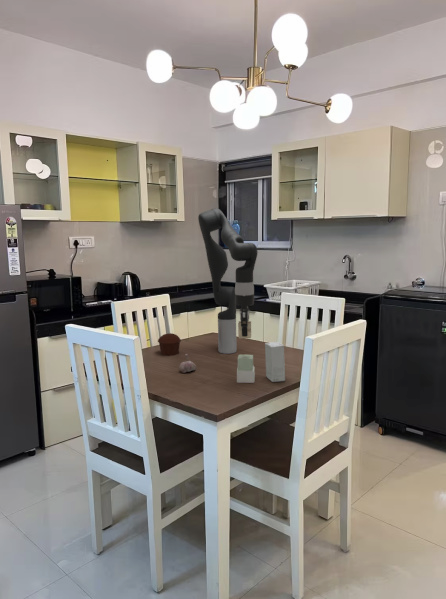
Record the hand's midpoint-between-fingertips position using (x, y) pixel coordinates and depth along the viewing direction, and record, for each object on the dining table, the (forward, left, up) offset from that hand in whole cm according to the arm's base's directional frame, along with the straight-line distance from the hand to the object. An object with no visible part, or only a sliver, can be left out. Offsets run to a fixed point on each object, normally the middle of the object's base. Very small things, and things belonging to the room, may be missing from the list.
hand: (244, 334), depth 184 cm
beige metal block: (0, 0, -1) cm, 1 cm away
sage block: (0, 0, -14) cm, 14 cm away
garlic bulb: (-11, -26, -19) cm, 34 cm away
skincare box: (-2, +12, -19) cm, 23 cm away
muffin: (-40, -40, -19) cm, 60 cm away
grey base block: (0, 0, -19) cm, 19 cm away
